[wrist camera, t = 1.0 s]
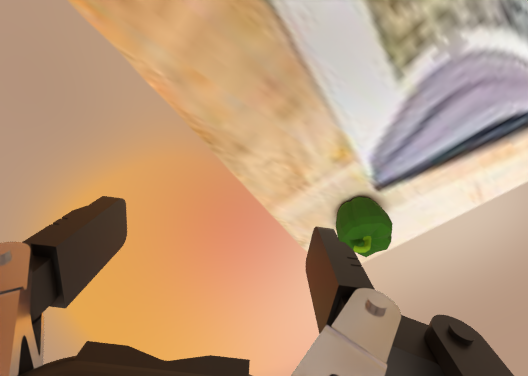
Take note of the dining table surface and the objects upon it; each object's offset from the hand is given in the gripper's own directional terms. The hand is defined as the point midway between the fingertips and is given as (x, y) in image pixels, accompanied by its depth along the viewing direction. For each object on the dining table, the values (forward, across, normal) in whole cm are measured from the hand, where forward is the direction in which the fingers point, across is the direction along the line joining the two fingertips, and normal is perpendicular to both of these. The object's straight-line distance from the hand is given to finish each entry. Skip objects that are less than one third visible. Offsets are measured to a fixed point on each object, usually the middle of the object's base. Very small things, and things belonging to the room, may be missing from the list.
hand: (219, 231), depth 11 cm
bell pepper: (+32, -20, +11) cm, 40 cm away
